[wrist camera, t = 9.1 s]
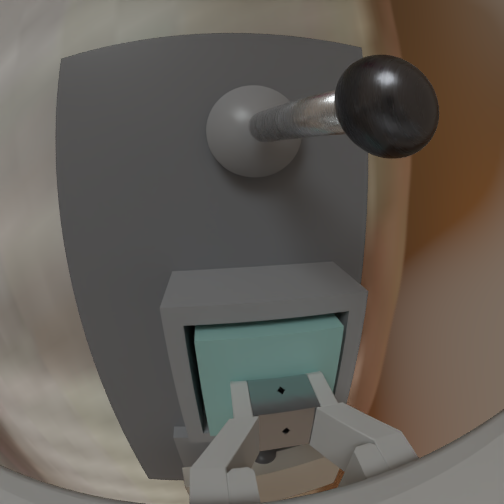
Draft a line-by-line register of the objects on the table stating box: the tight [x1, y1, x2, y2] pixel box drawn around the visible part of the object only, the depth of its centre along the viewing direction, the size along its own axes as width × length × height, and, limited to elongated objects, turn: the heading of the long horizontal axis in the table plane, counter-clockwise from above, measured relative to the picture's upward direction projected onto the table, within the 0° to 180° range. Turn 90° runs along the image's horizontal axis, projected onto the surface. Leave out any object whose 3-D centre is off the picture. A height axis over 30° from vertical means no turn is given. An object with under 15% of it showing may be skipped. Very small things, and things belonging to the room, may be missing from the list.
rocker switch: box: [182, 444, 339, 503], centre depth 12 cm, size 4×8×2 cm, turn 91°
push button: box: [194, 313, 344, 436], centre depth 10 cm, size 4×4×3 cm
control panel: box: [56, 33, 368, 480], centre depth 12 cm, size 24×12×6 cm, turn 1°
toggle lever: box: [248, 55, 439, 158], centre depth 6 cm, size 2×2×6 cm
